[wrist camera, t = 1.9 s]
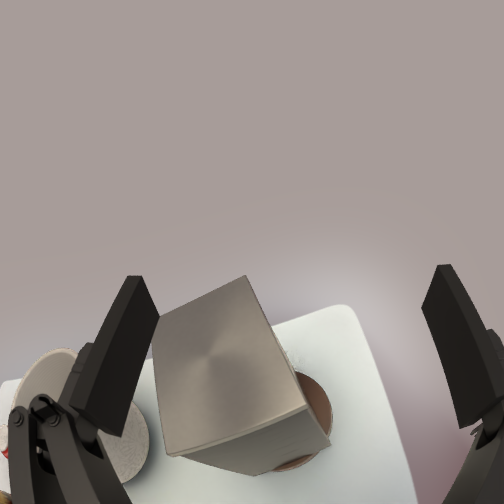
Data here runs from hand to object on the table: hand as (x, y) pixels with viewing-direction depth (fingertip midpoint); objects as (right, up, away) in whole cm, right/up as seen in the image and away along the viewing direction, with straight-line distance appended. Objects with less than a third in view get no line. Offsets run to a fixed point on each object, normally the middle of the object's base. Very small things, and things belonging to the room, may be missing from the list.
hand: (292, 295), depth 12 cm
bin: (0, -16, +18) cm, 24 cm away
